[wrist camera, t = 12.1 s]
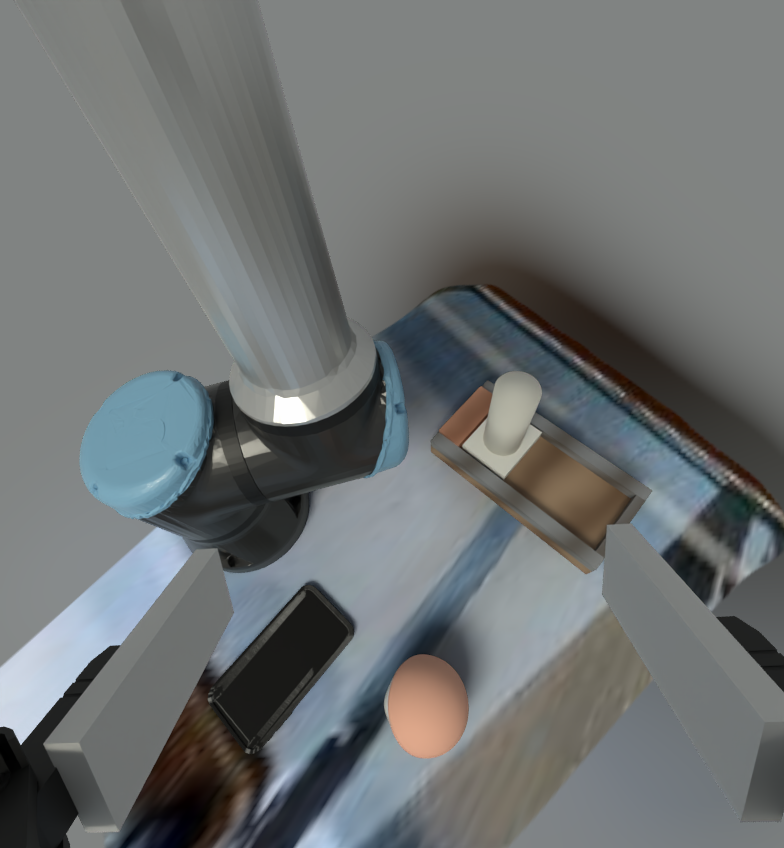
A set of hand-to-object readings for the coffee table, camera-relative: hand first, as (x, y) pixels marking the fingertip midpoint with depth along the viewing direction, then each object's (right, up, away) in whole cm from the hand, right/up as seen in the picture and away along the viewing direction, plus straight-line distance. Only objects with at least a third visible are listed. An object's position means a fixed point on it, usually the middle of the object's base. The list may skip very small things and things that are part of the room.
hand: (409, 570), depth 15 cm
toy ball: (+3, -23, +29) cm, 37 cm away
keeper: (+12, +3, +37) cm, 39 cm away
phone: (-12, -21, +32) cm, 40 cm away
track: (+16, -1, +38) cm, 41 cm away
